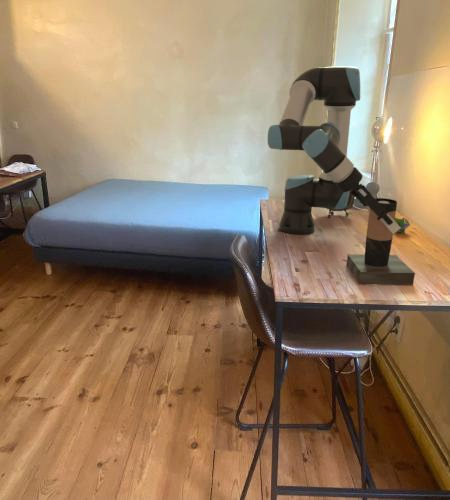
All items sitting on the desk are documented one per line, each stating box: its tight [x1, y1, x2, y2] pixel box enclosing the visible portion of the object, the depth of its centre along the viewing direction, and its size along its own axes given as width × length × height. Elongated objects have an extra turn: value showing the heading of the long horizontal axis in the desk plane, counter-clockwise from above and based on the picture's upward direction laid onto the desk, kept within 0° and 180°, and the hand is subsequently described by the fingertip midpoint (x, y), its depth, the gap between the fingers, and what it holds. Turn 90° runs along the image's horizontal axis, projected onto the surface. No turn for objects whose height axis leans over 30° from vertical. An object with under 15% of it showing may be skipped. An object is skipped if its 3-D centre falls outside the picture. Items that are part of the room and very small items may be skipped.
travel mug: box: [364, 197, 398, 267], centre depth 131 cm, size 8×8×20 cm
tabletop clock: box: [325, 190, 356, 219], centre depth 204 cm, size 14×9×25 cm, turn 114°
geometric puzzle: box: [395, 217, 411, 234], centre depth 180 cm, size 7×7×8 cm
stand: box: [346, 253, 416, 286], centre depth 135 cm, size 16×16×4 cm
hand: (388, 224), depth 130 cm, fingers open, 13 cm apart
